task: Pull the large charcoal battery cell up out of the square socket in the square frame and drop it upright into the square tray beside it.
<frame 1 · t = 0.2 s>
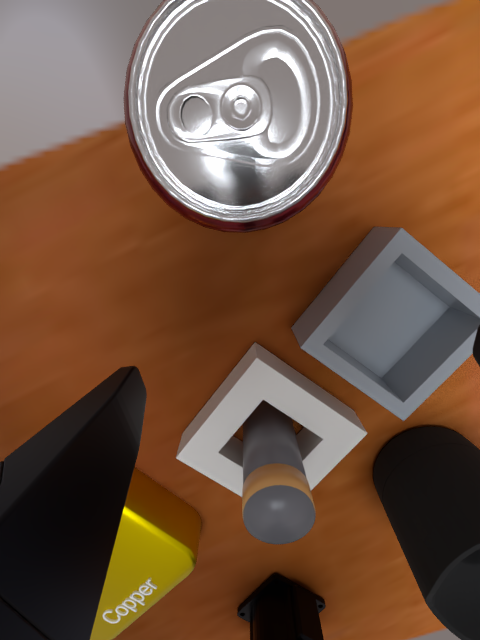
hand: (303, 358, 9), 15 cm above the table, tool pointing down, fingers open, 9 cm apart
square tray: (377, 315, 24), on the table
square frame: (267, 421, 27), on the table
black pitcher: (420, 465, 28), on the table
battery cell: (272, 460, 22), in the square frame
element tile: (99, 518, 31), on the table
soda can: (239, 169, 21), on the table
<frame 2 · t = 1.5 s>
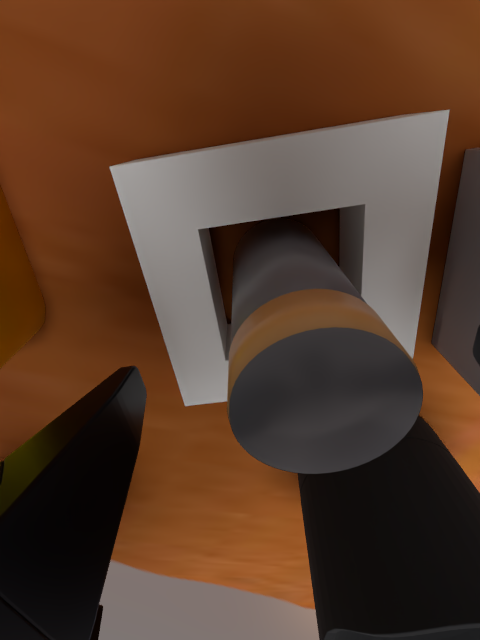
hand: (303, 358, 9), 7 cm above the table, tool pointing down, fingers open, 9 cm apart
square frame: (277, 264, 15), on the table
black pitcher: (361, 447, 21), on the table
battery cell: (292, 311, 11), in the square frame
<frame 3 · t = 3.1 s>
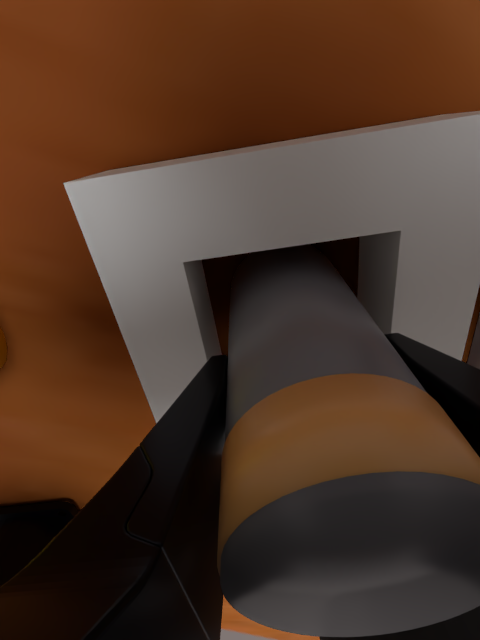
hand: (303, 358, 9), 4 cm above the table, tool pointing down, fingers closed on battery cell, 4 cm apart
square frame: (283, 293, 12), on the table
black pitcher: (375, 491, 19), on the table
battery cell: (306, 368, 8), in the square frame, touching gripper
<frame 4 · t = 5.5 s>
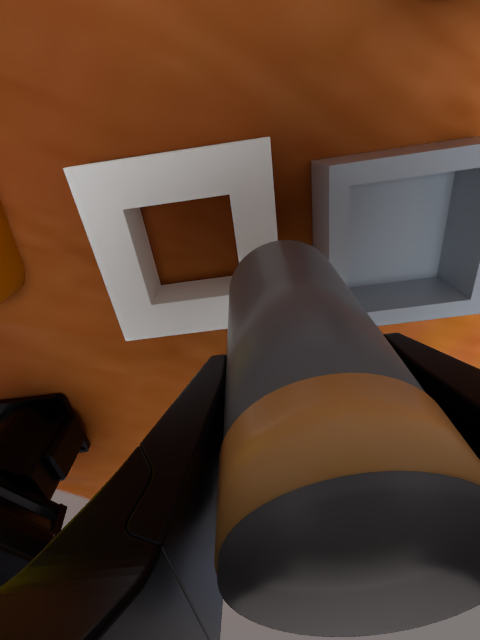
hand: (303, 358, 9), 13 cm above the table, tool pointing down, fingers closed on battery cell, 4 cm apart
square tray: (384, 229, 20), on the table
square frame: (192, 239, 20), on the table
battery cell: (304, 368, 8), point 14 cm above the table, touching gripper
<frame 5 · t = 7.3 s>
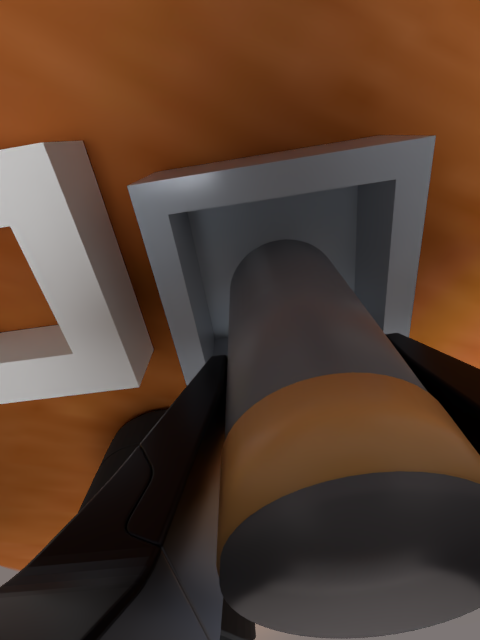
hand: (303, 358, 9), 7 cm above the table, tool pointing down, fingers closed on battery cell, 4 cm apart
square tray: (276, 261, 15), on the table
square frame: (22, 277, 15), on the table
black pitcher: (179, 450, 22), on the table
battery cell: (306, 368, 8), point 8 cm above the table, touching gripper
when the fingers open (6 cm above the table, at t = 8.4 s): battery cell drops 1 cm, resting on square tray.
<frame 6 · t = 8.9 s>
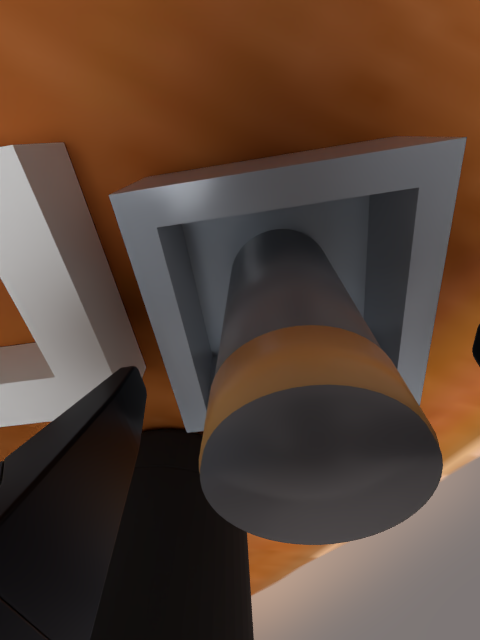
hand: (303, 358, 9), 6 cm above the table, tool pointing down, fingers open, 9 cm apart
square tray: (278, 273, 14), on the table
square frame: (1, 291, 14), on the table
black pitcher: (174, 470, 21), on the table
battery cell: (290, 338, 9), in the square tray
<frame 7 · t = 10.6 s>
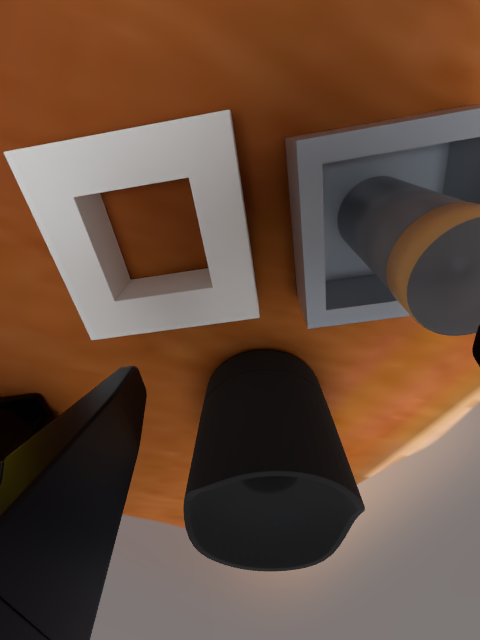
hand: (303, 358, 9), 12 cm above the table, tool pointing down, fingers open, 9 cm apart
square tray: (371, 214, 18), on the table
square frame: (160, 229, 19), on the table
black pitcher: (262, 390, 25), on the table
battery cell: (410, 239, 14), in the square tray
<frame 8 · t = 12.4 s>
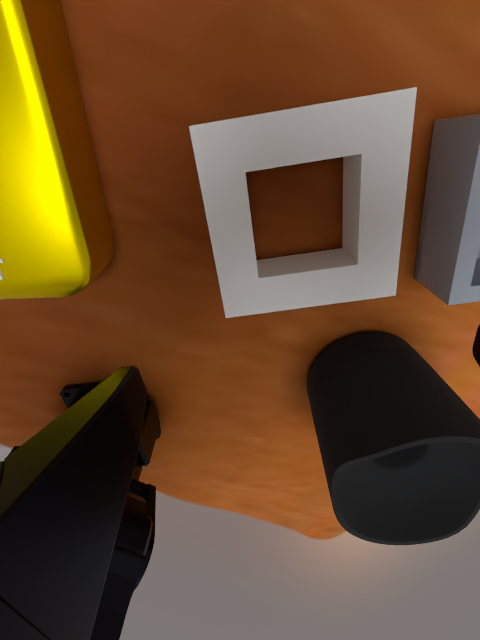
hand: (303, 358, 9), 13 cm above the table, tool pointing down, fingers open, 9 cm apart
square frame: (296, 209, 19), on the table
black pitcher: (359, 373, 26), on the table
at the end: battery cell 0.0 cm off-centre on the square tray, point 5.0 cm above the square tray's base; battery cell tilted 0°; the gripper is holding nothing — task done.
